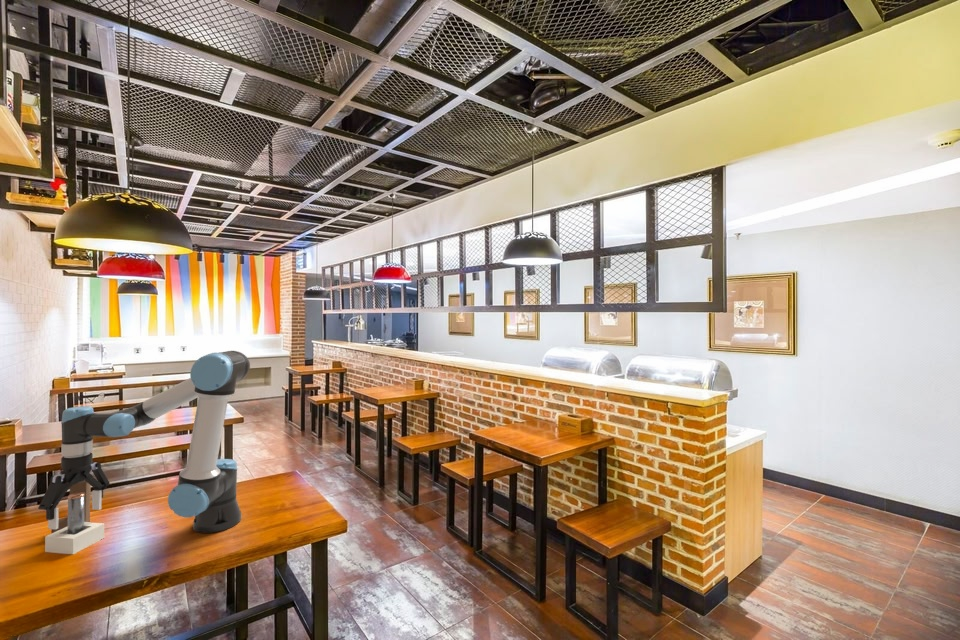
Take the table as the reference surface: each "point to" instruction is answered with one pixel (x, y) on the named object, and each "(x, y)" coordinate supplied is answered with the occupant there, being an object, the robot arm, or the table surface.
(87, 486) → the wooden block
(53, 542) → the socket
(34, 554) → the table surface
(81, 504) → the peg
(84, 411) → the robot arm
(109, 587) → the table surface
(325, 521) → the table surface
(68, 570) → the table surface
